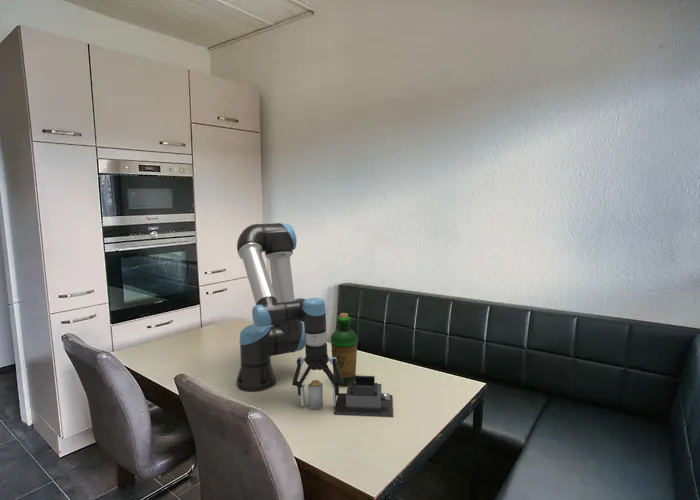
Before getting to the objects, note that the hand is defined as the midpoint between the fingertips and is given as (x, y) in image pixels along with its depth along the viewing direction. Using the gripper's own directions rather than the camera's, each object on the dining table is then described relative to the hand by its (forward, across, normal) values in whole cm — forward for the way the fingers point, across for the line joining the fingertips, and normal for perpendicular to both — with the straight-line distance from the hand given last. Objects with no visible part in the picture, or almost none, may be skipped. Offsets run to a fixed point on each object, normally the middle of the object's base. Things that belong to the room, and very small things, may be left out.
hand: (318, 404), depth 144 cm
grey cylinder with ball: (+1, -1, 0) cm, 2 cm away
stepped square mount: (+1, +16, +2) cm, 16 cm away
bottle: (+1, +7, +21) cm, 22 cm away
